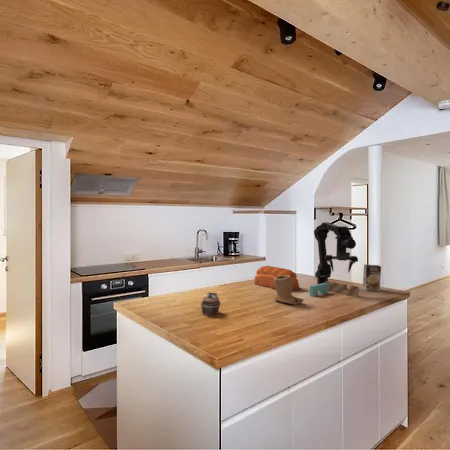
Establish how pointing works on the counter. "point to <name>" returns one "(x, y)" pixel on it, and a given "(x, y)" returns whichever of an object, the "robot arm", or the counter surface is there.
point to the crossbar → (320, 287)
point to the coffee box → (372, 278)
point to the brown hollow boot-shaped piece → (285, 290)
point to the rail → (342, 289)
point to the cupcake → (210, 304)
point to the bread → (273, 276)
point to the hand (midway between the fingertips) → (340, 272)
